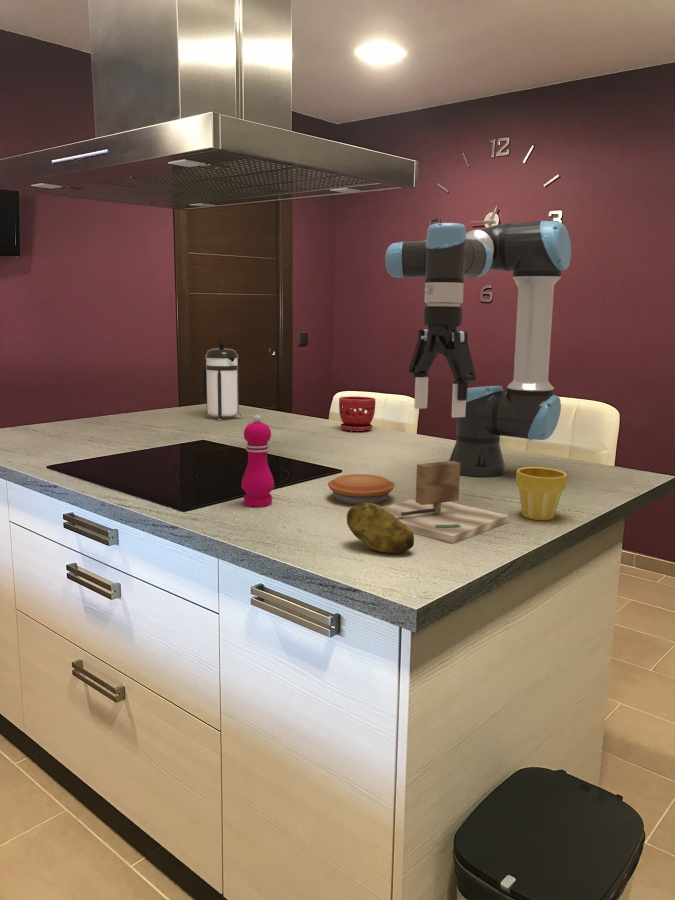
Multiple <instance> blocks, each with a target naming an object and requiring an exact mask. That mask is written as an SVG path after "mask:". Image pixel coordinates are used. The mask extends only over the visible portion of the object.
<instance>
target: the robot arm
mask: <svg viewBox="0 0 675 900" xmlns="http://www.w3.org/2000/svg"><path fill="white" fill-rule="evenodd" d="M466 229H467V228H466V225H465V224H463V223H458V222H438V223H433V224H430V225H429V226H428V228H427V233H426V239H425V240H424V239H423V240H417V241H400V242H393V243H391V244H390V245H389V246H388V247H387V249H386V252H385V256H384V260H385V263H384V265H385V268H386V271H387V273H388V275H389V276H391V277H392V278H396V279H397V278H401V279H414V278H425V279H424V286H425V287H424V303H425V304H426V305H427V306H424V308H423V325H424V326H428V328H426V329H421V328H420V329H419V330H418V333H417V342H416V344H415V348H414V351H413V354H412V358H411V361H410V365H409V368H408V373H409V374H412V375H413V377H414V403H413V404H414V406H413V407H414V409H416V410H418V409H421V410H422V409H428V401H429V400H428V397H429V396H428V395H429V374H428V372H429V370H430V368H431V366H432V365H433V363H434V361H435V359H436V357H437V355H439V354H442V356H444V357H445V358H446V361H447V364H448V365H449V368H450V371H451V373H452V375H453V378H454V380H453V382H452V392H451V393H452V398H451V418H452V419H453V418H456V433H455V434H456V435H455V436H456V438H455V444H454V448H452V452H451V455H450V457H449V460H448V461H456V462H459V463H460V476H461V475H462V476H468V477H484V478H485V477H497V476H502V475H503V474H504V473H505V471H506V470H505V469H506V464H505V461H504V456H503V452H502V449H501V444H500V440H501V439H500V438H501V437H509V438H519V439H526V440H529V441H535V440H536V441H545V440H548V439H549V438H550V437H551V436H552V435H553V433H554V432H555V430H556V428H557V426H558V423H559V420H560V416H561V410H562V404H561V402H562V401H561V398H560V397H559V396H557V394H556V395H555V394H554V391H555V390H554V389H555V387H554V386H553V385H552V384H551V383H550V382H549V374H550V372H549V370H550V356H551V355H550V353H551V339H552V337H551V336H552V324H553V323H552V321H553V310H554V309H553V308H554V307H553V306H554V294H555V293H554V292H555V290H554V289H555V285H556V283H557V282H558V281H559V280H560V279H562V271H565V270H567V269H568V268H569V267H570V263H571V260H572V246H571V245H572V243H571V239H570V235H569V232H568V229H567V228H566V226H565V225H564V224H563V223H562V222H560V221H556V220H554V221H553V220H539V221H528V222H527V221H526V222H513V223H512V222H510V223H509V222H508V223H500V224H495V225H492V226H491V225H490V226H487V227H483V228H479V229H473V230H470V231H468V232H467V230H466ZM490 270H491V271H500V272H512V280H514V281H515V282H516V284H517V285H518V289H517V305H516V306H517V309H516V326H515V327H516V329H515V346H514V347H515V348H514V363H513V366H514V368H513V380H512V381H511V382H509V384H508V385H507V386H506V391H504V388H503V386H502V385H487V386H484V385H483V386H475V387H468V386H469V384H470V382H475V381H476V379H477V377H476V371H475V368H474V364H473V360H472V359H473V358H472V355H471V351H470V347H469V343H468V341H469V340H468V334H469V333H468V331H464V330H463V331H461V330H458V329H457V327H460V326H461V325H462V323H463V308H462V306H460V305H462V304H463V303H464V288H465V287H464V286H465V283H464V278H467V279H475V278H480V277H483V276H485V274H487V273H488V271H490Z"/></svg>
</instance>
